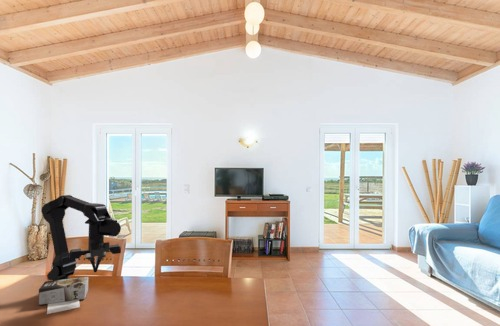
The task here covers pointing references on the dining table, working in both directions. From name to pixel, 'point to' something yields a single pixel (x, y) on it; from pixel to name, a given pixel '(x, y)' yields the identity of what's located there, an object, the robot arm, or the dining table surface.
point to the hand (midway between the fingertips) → (95, 272)
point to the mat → (62, 306)
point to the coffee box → (63, 290)
